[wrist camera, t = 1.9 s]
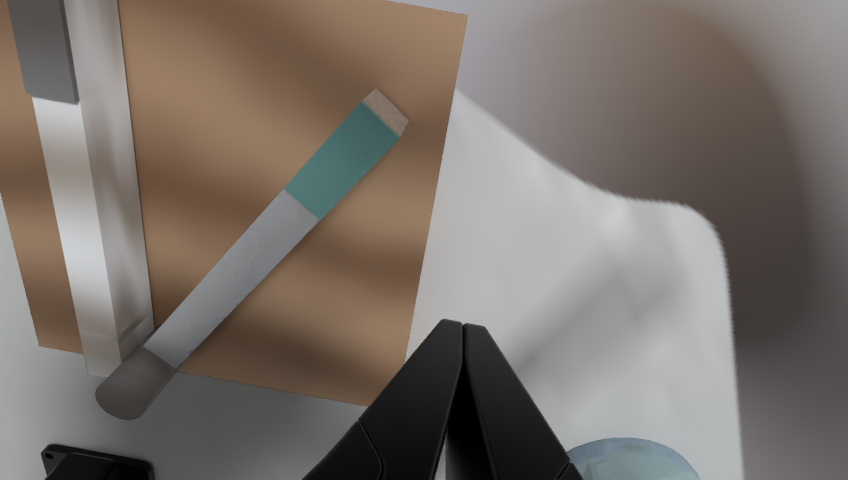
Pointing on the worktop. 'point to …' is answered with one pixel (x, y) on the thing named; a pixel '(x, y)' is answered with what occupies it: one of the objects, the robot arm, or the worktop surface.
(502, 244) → the worktop surface
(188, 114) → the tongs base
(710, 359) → the worktop surface
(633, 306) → the worktop surface
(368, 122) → the hinged jaw
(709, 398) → the worktop surface
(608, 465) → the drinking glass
